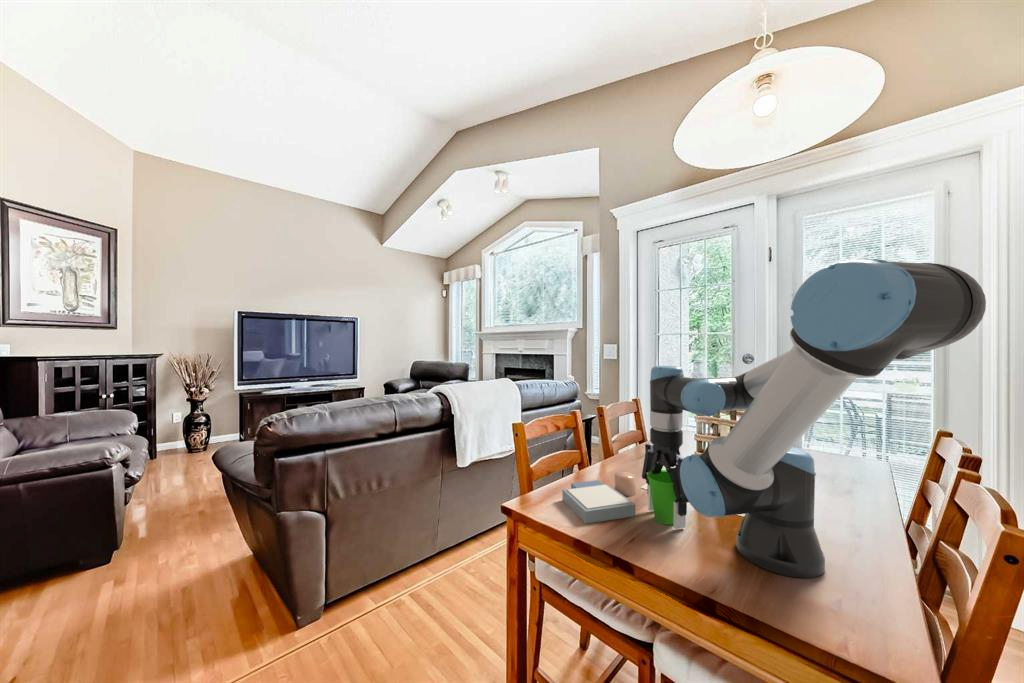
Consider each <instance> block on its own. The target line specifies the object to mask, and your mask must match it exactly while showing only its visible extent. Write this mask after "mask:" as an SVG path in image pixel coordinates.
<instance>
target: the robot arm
mask: <svg viewBox="0 0 1024 683" xmlns="http://www.w3.org/2000/svg"><path fill="white" fill-rule="evenodd" d="M986 304H987V299H986V295H985V292H984V290H983V288H982V286H981V284H979V282H978V281H977V280H976V279H975V278H974V277H973V276H971V275H970V274H968V273H967V272H965V271H963V270H961V269H959V268H957V267H953V266H951V265H946V264H941V263H934V262H933V263H932V262H921V263H919V262H905V261H903V262H902V261H888V260H885V259H875V258H874V259H868V258H867V259H866V258H865V259H857V260H846V261H845V260H844V261H840V262H837V263H833V264H830V265H828V266H825V267H823V268H821V269H819V270H817V271H816V272H814V273H813V274H811V275H810V276H809V277H808V278H806V279H805V281H804V282H803V283H802V284H801V285H800V286H799V288H798V289H797V290H796V292H795V294H794V296H793V299H792V302H791V305H790V310H792V312H793V314H792V315H790V322H791V326H792V328H791V330H790V332H789V336H790V340H791V341H792V344H793V346H792V347H791V349H790V350H788V351H785V353H782V354H780V355H778V356H776V357H774V358H771V359H769V360H768V361H766V362H764V363H761V364H760V365H758V366H755V367H754V368H752V369H749V370H748V371H745V372H743V373H742V374H739V375H738V376H731V377H707V378H706V377H703V378H702V377H700V378H698V377H697V378H695V377H686V376H684V370H683V367H681V366H676V365H656V366H653V367H651V369H650V380H649V397H650V398H649V403H650V404H649V405H650V406H649V407H650V409H649V425H650V427H651V428H650V430H649V440H650V443H645V444H644V448H645V450H644V452H645V455H644V459H643V465H642V472H641V478H642V479H643V480H645V482H646V484H647V493H646V494H647V498H648V499H647V511H648V510H649V512H651V511H654V510H653V504H652V497H651V491H650V485H649V478H648V477H647V473H648V472H650V471H652V474H659V473H660V472H661V470H663V468H664V467H665V470H666V471H667V472H668V473H669V475H670V479H671V482H672V483H674V484H673V489H674V493H675V496H676V500H674V524H673V529H675V530H677V529H684V528H686V516H687V514H688V510H687V509H688V506H687V505H688V503H689V504H690V506H691V507H693V509H694V511H696V512H697V513H698V514H700V515H702V516H704V517H706V518H720V519H721V518H722V519H723V518H724V517H727V516H728V517H730V516H736V515H737V516H738V515H743V514H744V516H743V519H742V521H741V524H740V526H739V529H738V530H737V533H736V544H735V545H736V549H737V551H738V552H739V554H740V555H741V556H743V557H744V558H745V559H746V560H747V561H748V562H750V563H752V564H754V565H756V566H757V567H760V568H762V569H764V570H766V571H770V572H772V573H775V574H778V575H780V576H781V575H782V576H785V577H786V576H787V577H791V578H800V579H811V578H816V577H820V576H821V575H823V574H824V573H825V571H826V568H825V567H826V559H825V558H826V557H825V554H824V552H823V550H822V547H821V544H820V541H819V539H818V535H817V532H816V529H815V493H816V492H815V490H816V489H815V488H816V486H815V485H816V483H815V482H816V475H817V472H815V460H814V457H813V456H812V455H811V454H810V453H809V452H807V451H805V450H802V449H801V448H800V449H799V448H796V447H794V446H795V444H796V443H798V441H800V440H801V438H802V437H803V436H804V435H805V434H806V433H807V432H808V431H809V430H810V428H812V427H813V425H814V424H815V423H816V422H817V421H818V420H819V419H821V417H822V416H823V415H824V414H825V413H826V412H827V411H828V410H829V408H831V406H833V404H834V403H835V402H836V401H837V400H838V399H839V397H841V396H842V395H843V393H844V392H845V391H846V390H848V388H849V387H850V386H851V385H852V384H853V383H854V382H855V381H856V380H857V379H869V378H875V377H877V376H879V375H880V374H881V372H883V371H884V370H885V369H886V367H888V366H889V365H890V364H891V363H892V362H893V361H903V360H907V359H909V358H912V357H915V356H918V355H921V354H924V353H927V352H931V351H933V350H937V349H939V348H943V347H946V346H949V345H951V344H953V343H956V342H959V341H960V340H962V339H964V338H965V337H967V336H968V335H969V334H970V333H972V332H973V331H974V330H975V329H976V328H977V327H978V326H979V324H980V323H981V322H982V320H983V318H984V316H985V312H986V308H987V305H986ZM684 411H686V412H689V413H691V414H694V415H697V416H704V417H711V416H712V417H713V416H715V415H717V414H718V413H720V412H729V411H744V412H743V414H742V415H741V416H740V418H739V419H738V420H737V422H735V424H734V426H733V427H732V428H731V430H730V431H729V432H728V433H727V435H722V436H717V437H715V438H713V439H712V440H711V441H710V443H709V444H708V445H707V447H706V448H705V450H704V451H703V452H702V453H700V454H696V453H695V454H694V453H693V454H690V455H687V456H685V457H684V456H682V455H681V451H680V449H681V446H682V445H683V442H684V441H683V439H684V437H683V434H684V433H683V430H682V429H683V425H684V424H683V420H684V419H683V417H684V416H683V414H684ZM680 495H681V496H680Z"/></svg>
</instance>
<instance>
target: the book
mask: <svg viewBox="0 0 1024 683" xmlns="http://www.w3.org/2000/svg"><path fill="white" fill-rule="evenodd" d="M603 484H604V483H603V482H601V481H600V480H599V479H597V480H589V481H579V482H571V483H570V489H571V488H579V487H587V486H595V485H603Z"/></svg>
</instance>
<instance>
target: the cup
mask: <svg viewBox="0 0 1024 683" xmlns="http://www.w3.org/2000/svg"><path fill="white" fill-rule="evenodd" d="M647 477H648V478H649V485H650V491H651V497H652V504H653V510H652V511H653V515H654V516H653V517H654V519H655V520H656V522H658V523H660V524H662V525H667V526H668V525H669V526H670V525H673V526H674V500H676V496H675V493H674V489H673V484H674V483H672V482H671V479H670V475H669V473H668V472H667V471H666V469H665V470H664V469H662V470H661V472H660V473H659V474H652V471H650V472H648V473H647ZM680 496H681V495H680Z"/></svg>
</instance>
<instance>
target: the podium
mask: <svg viewBox="0 0 1024 683" xmlns="http://www.w3.org/2000/svg"><path fill="white" fill-rule="evenodd" d="M561 492H562V493H561V494H562V502H564V503H565V504H566V506H568V507H569V509H571V511H573V513H574V514H575V515H576V516H578V517H579V519H580V520H582V522H583V523H584V524H592V523H600V522H605V521H606V522H607V521H611V520H612V521H613V520H618V519H623V518H624V519H625V518H632V517H636V503H634V502H633V501H631V499H629V498H627V496H623V495H622V494H620V493H619V492H618V491H616V490H615V488H613V487H612V486H611V485H609V484H608V483H603V485H595V486H587V487H579V488H571V487H570V488H564V489H562V490H561Z"/></svg>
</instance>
